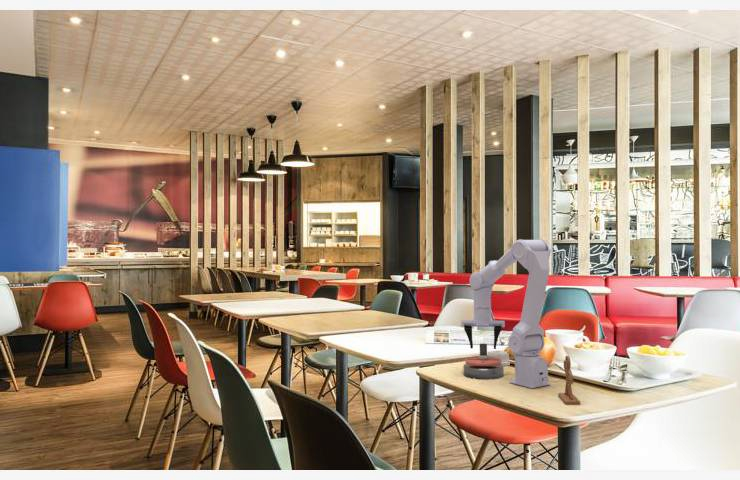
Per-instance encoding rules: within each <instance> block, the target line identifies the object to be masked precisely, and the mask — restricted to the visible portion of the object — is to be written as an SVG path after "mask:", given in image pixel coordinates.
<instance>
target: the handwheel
mask: <svg viewBox="0 0 740 480" xmlns="http://www.w3.org/2000/svg"><path fill="white" fill-rule="evenodd" d="M464 361H465V364H469V365H474V366H496V365H500V364H501V359H499V358H495V357H488V344H487V343H479V354H478V356H470V357H466V358H465V360H464Z"/></svg>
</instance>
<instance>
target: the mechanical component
mask: <svg viewBox="0 0 740 480" xmlns="http://www.w3.org/2000/svg"><path fill="white" fill-rule="evenodd" d="M507 352H508V351H506V352H505V350H490V351H487V356H488V357H495V358H499V359H501V365H503V366H504V367H507V366H511V365H510V362H508V361H509V359H510V353H509V354H508V353H507Z"/></svg>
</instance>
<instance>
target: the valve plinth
mask: <svg viewBox="0 0 740 480" xmlns="http://www.w3.org/2000/svg"><path fill="white" fill-rule="evenodd" d="M462 368H463V376H464V377H466V378H469V377H470V378H469V379H474V378H475V379H474V380H495V379H501V378H503V377H504V376H505V373H504V372H505V366H503V365H501V364H500V365H496V366H474V365H469V364H466V363H464V364H463V367H462Z"/></svg>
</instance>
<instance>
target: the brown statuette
mask: <svg viewBox="0 0 740 480" xmlns="http://www.w3.org/2000/svg"><path fill="white" fill-rule="evenodd" d="M571 365H572V363H571V357H570V356H569V355H566V356H565V359H564V360H563V369H564V370H563V371H564V373H565V381H566V382H565V390H564V392H558V395H557V397H558V398H559V399H560V400H561V401H562V403H563V404H564V405H565V406H580V405H581V401H580V400H579V399H578V398H577V397H576V396H575V395H574V393H573V390H572V385H573V384H574V378H573V372H572V369H571Z"/></svg>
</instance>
